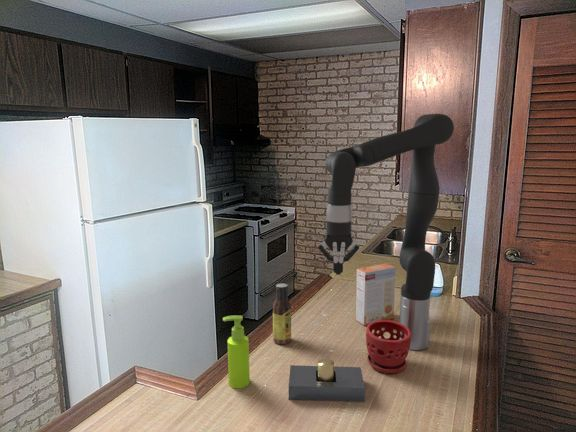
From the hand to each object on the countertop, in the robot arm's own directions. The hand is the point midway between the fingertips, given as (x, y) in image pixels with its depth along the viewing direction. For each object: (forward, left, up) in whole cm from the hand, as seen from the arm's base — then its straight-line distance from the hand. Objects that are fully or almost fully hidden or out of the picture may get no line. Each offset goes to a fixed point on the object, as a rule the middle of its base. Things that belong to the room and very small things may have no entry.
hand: (337, 273), depth 127 cm
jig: (+4, +19, -27) cm, 33 cm away
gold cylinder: (+4, +19, -27) cm, 33 cm away
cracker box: (-16, -26, -27) cm, 41 cm away
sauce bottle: (+18, -8, -27) cm, 34 cm away
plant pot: (-15, +6, -27) cm, 32 cm away
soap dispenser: (+29, +17, -27) cm, 43 cm away
